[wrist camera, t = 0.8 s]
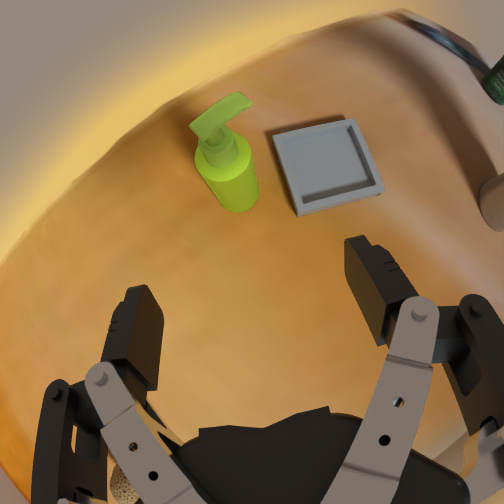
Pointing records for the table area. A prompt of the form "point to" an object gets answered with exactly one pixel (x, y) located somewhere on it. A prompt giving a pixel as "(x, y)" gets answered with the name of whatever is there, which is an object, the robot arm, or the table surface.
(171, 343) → the table surface
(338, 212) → the table surface
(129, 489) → the natural sponge
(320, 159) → the tray
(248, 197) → the soap dispenser
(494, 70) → the coffee jar
